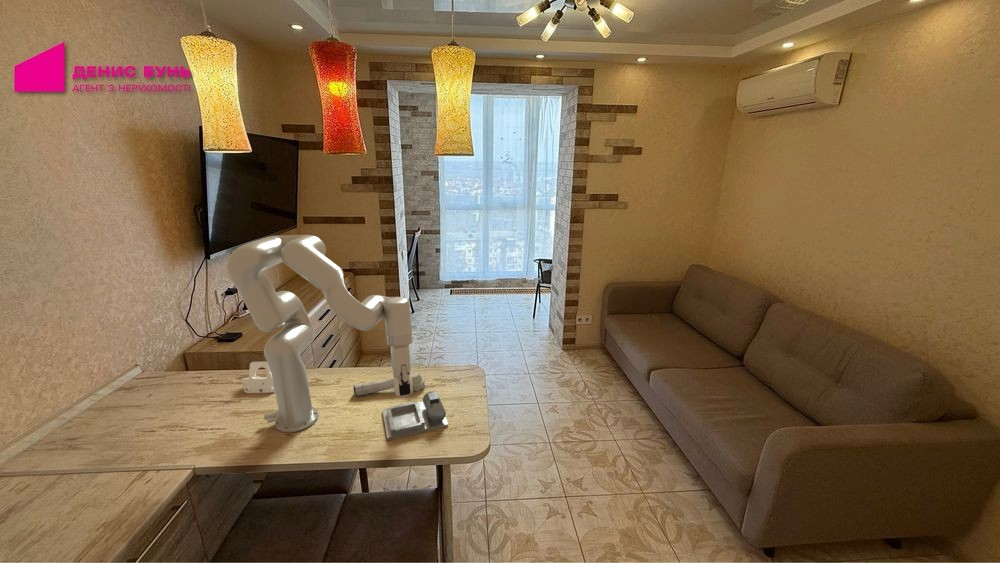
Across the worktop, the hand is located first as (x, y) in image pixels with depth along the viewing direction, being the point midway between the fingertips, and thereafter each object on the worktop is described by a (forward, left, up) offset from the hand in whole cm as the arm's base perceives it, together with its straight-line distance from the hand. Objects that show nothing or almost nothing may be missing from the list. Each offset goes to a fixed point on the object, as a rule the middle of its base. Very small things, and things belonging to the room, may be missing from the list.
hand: (403, 388), depth 124 cm
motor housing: (+3, +1, -13) cm, 13 cm away
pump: (0, 0, -1) cm, 1 cm away
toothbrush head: (-3, +21, -13) cm, 25 cm away
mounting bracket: (-47, +40, -13) cm, 63 cm away
